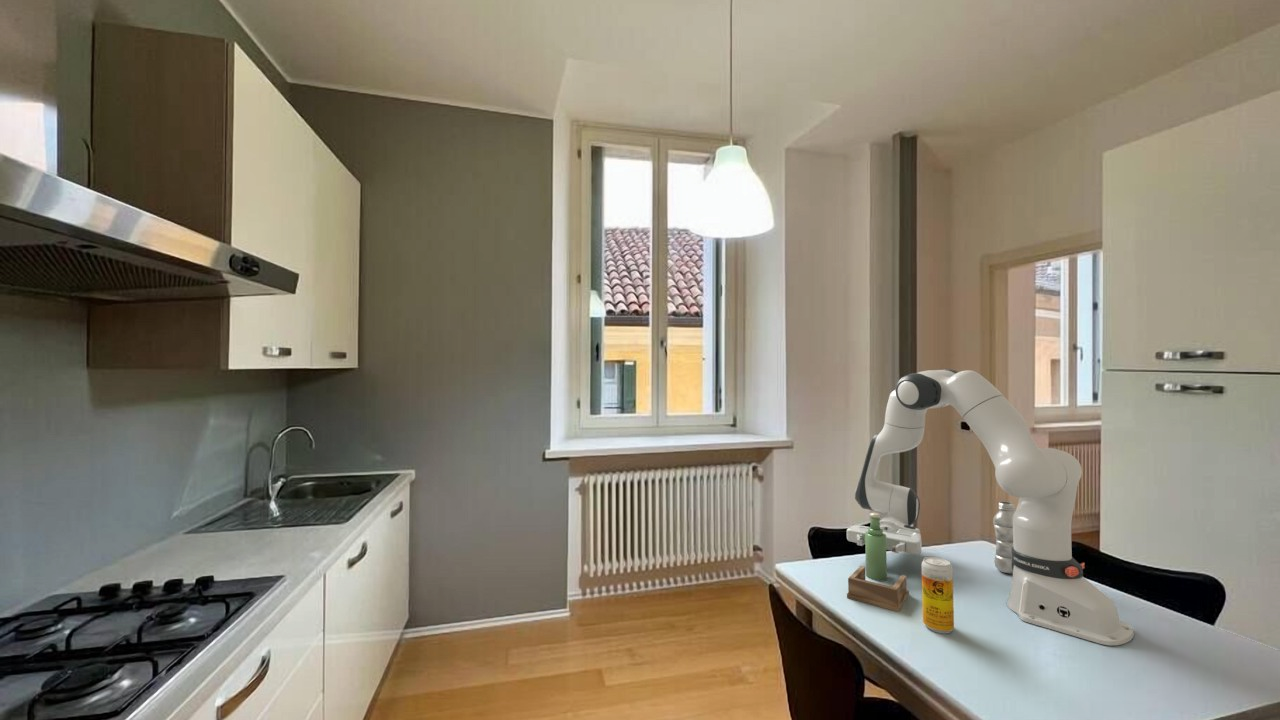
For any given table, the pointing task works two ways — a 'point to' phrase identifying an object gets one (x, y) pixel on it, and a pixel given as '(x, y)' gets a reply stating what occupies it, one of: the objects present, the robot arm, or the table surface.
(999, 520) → the plastic bottle
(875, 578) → the bottle
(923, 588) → the beer can
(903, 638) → the table surface
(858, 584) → the tray
